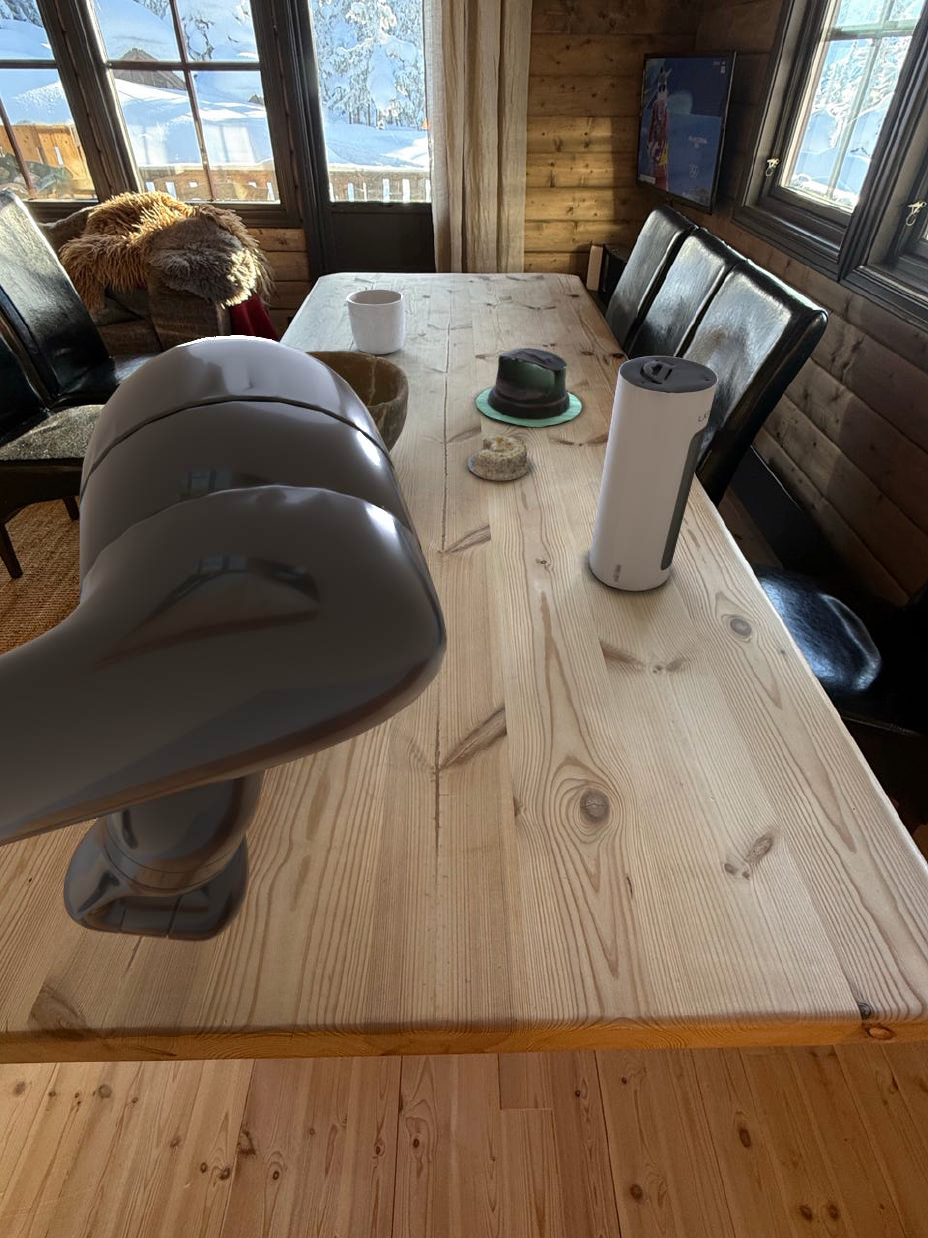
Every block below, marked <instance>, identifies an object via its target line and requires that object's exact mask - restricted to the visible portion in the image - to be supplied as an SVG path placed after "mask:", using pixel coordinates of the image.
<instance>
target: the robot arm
mask: <svg viewBox="0 0 928 1238" xmlns="http://www.w3.org/2000/svg"><path fill="white" fill-rule="evenodd" d="M305 352H306V351H303V350H302V349H300V348H299V347H298V348H297V347H294V346H291V345H289V344H288V345H287V344H285V343H282V342H279V341H277V340H272V339H270V338H269V339H268V338H264V337H259V336H258V337H256V336H247V335H230V336H216V337H215V336H214V337H205V338H201V339H197V340H193V341H190V342H186V343H182V344H179V345H175V346H174V347H171V348H169V349H168V350H166V351H164V352H161V353H160V354H157V355H156V356H154V357H152V358H150V359H148V360H147V361H145V362H144V363H143V364H142V365H140V366H139V367H138V368H137V369H136V370H134V371H133V372H132V373H131V374H130V375H129V376H127V377H126V378H125V379H123V380H122V381H121V383H120V384H119V386H118V387H117V388H116V390H115V391H114V392H113V394H112V395H111V396H110V398H109V399H108V400H107V402H106V403H105V404H104V406H103V407H102V409H101V410H100V413H99V416H98V418H97V420H96V423H95V425H94V427H93V430H92V432H91V435H90V437H89V439H88V442H87V444H86V445H87V446H86V449H85V454H84V458H83V463H82V471H81V477H80V487H79V588H78V589H79V591H78V592H79V604H78V605H77V606H76V607H75V609H74V610H73V611H72V612H71V613H70V614H69V615H67V617H66V618H65V619H64V620H62V621H61V622H60V623H58V624H57V625H56V626H54V627H52V628H50V629H48V630H47V631H45V632H44V633H42V634H40V635H38V636H37V637H35V638H34V639H32V640H29V641H27V642H25V643H23V644H21V645H19V646H17V647H15V648H13V649H11V650H8V651H6V652H4V653H2V654H0V848H1V847H4V846H7V845H10V844H15V843H17V842H21V841H25V840H27V839H28V840H29V839H30V838H34V837H37V836H40V835H44V834H48V833H50V832H55V831H58V830H61V829H64V828H68V827H72V826H75V825H79V824H82V823H85V822H89V821H93V820H95V821H94V822H93V823H92V824H91V826H90V827H89V828H88V829H87V831H86V833H85V834H84V835H83V836H82V838H81V840H80V841H79V842H78V845H77V846H76V848H75V850H74V852H73V854H72V857H71V858H70V861H69V864H68V866H67V869H66V872H65V876H64V881H63V891H62V897H63V904H64V908H65V911H66V913H67V914H68V916H69V917H70V919H71V920H73V921H74V922H75V923H76V924H77V925H79V926H81V927H83V928H85V929H87V930H89V931H90V930H91V931H94V932H99V933H104V934H105V933H107V934H115V935H123V936H124V935H126V936H135V937H142V938H143V937H144V938H152V939H161V940H165V939H166V938H167V940H169V941H178V942H185V943H186V942H188V943H204V942H208V941H211V940H214V939H216V938H217V937H220V936H221V935H222V934H223V933H224V932H225V931H227V930H228V929H229V927H230V926H232V924H233V923H234V922H235V920H236V919H237V918H238V916H239V915H240V912H241V910H242V908H243V906H244V904H245V901H246V898H247V895H248V890H249V883H250V855H249V853H250V852H249V844H248V836H247V831H248V829H249V828H250V826H251V823H252V821H253V819H254V816H255V813H256V811H257V808H258V806H259V802H260V799H261V795H262V789H263V784H264V779H265V773H266V770H269V769H273V768H276V767H279V766H283V765H286V764H289V763H292V762H295V761H297V760H301V759H303V758H306V757H308V756H311V755H314V754H317V753H320V752H322V751H325V750H327V749H331V748H332V747H336V746H337V745H340V744H342V743H344V742H347V741H349V740H351V739H354V738H356V737H358V736H361V735H363V734H365V733H366V732H368V731H370V730H372V729H374V728H376V727H378V726H380V725H382V724H384V723H385V722H387V721H388V720H390V719H392V717H394V716H395V715H397V714H398V713H400V712H402V711H403V710H404V709H405V708H407V707H408V706H410V705H411V704H413V703H414V702H415V701H416V700H418V698H419V697H420V696H422V694H423V693H425V691H426V690H428V687H429V686H430V685H431V684H432V683H433V681H434V680H435V679H436V677H437V676H438V674H439V673H440V671H441V668H442V666H443V662H444V660H445V654H446V652H447V648H448V647H447V646H448V635H447V629H446V628H447V627H446V622H445V617H444V613H443V612H444V611H443V609H442V605H441V601H440V597H439V596H438V592H437V590H436V587H435V584H434V581H433V578H432V574H431V571H430V569H429V566H428V563H427V559H426V556H425V555H424V553H423V550H422V545H421V542H420V538H419V536H418V534H417V530H416V528H415V524H414V522H413V518H412V515H411V512H410V510H409V507H408V504H407V500H406V498H405V494H404V492H403V490H402V487H401V484H400V480H399V478H398V475H397V472H396V469H395V465H394V463H393V459H392V458H391V454H390V452H388V450H387V448H386V446H385V444H384V441H383V439H382V437H381V435H380V433H379V431H378V429H377V427H376V425H375V423H374V420H373V418H372V417H371V415H370V413H369V411H368V410H367V408H366V406H365V405H364V404H363V402H362V401H361V400H360V399H359V397H358V396H357V395H356V393H355V392H354V391H353V389H352V388H351V387H350V385H349V384H348V383H347V382H346V381H345V380H344V379H343V378H342V377H340V376H339V375H338V374H337V373H336V372H335V371H333V370H332V369H331V368H330V367H329V366H328V365H326V364H325V363H323V362H321V361H320V360H318V359H316V358H314V357H312V356H311V355H309V354H307V353H305Z"/></svg>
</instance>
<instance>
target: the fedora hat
mask: <svg viewBox="0 0 928 1238" xmlns="http://www.w3.org/2000/svg"><path fill="white" fill-rule="evenodd" d="M497 363H498V365H497V371H496V378H495V385H493V387H491V388H487V389H486V390H485V391H483V392H481V393H480V394H479V395H478V396H477V398H476V400H475V403H476V407H477V408H478V409H479V411H481V412H482V413H483V414H484V415H486V416H487V417H490V418H493V419H494V420H495V419H496V420H499V421H503V422H506V423H509V424H514V425H518V426H523V427H524V426H525V427H531V428H543V427H546V426H551V425H558V424H561V423H564V422H566V421H569V420H573V419H574V418H576V417H577V416H579V414H580V413H581V410H582V407H583V406H582V403H581V401H580V400H579V398H578V397H576V396H575V395H574V394H571V393H570V392H568V390H567V388H566V379H567V366H568V362H567V361H566V360H565V358H564V357H561V355H560V354H557V353H554V352H551V351H549V350H543V349H539V348H531V347H522V348H521V347H520V348H515V349H511V350H509V351H505V352H503V353H501V354H499V356H498V359H497Z"/></svg>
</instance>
